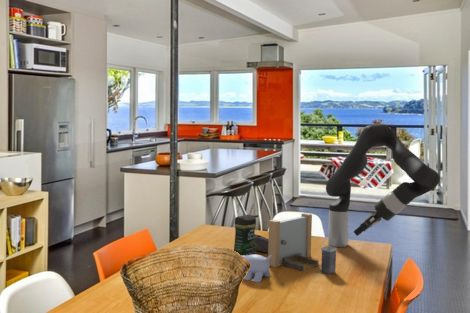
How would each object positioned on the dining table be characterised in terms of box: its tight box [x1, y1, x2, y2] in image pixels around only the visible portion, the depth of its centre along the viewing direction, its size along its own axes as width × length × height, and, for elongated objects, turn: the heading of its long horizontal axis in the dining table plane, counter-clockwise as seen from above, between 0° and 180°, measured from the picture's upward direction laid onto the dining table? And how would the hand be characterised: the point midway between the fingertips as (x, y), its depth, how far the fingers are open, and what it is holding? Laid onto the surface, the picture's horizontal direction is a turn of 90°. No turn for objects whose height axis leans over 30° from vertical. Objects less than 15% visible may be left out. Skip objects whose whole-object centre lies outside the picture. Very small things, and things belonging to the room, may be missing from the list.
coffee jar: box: [233, 214, 257, 256], centre depth 204 cm, size 10×8×19 cm
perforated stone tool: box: [255, 233, 269, 254], centre depth 213 cm, size 15×5×7 cm, turn 42°
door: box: [267, 212, 313, 268], centre depth 199 cm, size 24×5×19 cm, turn 133°
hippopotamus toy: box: [242, 253, 272, 283], centre depth 179 cm, size 11×15×10 cm
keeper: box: [282, 253, 319, 272], centre depth 194 cm, size 11×10×3 cm
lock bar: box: [320, 245, 338, 276], centre depth 185 cm, size 4×4×10 cm
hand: (358, 231), depth 178 cm, fingers open, 8 cm apart
